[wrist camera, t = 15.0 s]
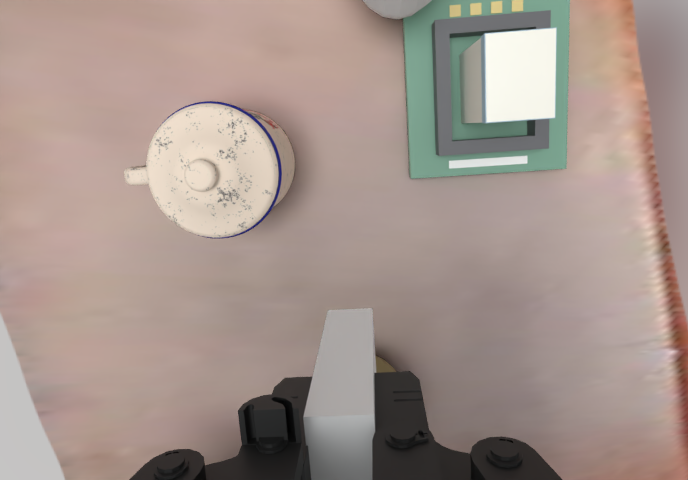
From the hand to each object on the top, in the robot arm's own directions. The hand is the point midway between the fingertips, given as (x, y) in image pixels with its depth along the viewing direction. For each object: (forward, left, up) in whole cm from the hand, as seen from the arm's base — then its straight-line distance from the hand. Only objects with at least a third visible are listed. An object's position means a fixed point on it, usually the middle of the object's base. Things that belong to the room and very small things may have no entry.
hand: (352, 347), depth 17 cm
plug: (+10, -10, -25) cm, 28 cm away
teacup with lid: (+5, +11, -27) cm, 29 cm away
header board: (+10, -10, -26) cm, 30 cm away
